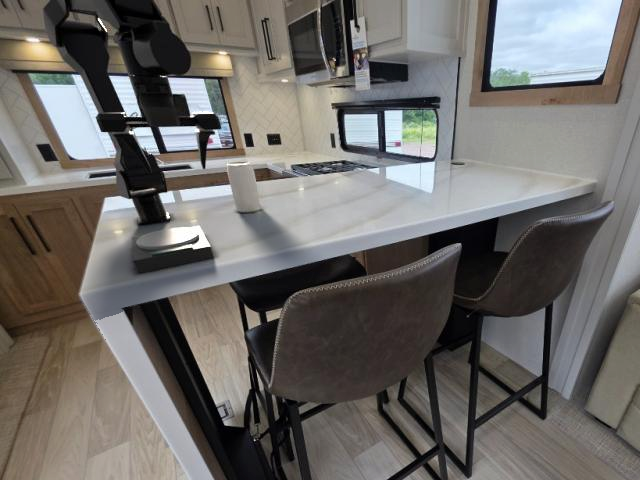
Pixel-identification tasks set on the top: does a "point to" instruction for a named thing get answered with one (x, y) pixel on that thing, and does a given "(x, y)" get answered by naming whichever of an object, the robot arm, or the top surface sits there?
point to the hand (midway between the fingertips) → (178, 170)
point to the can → (244, 187)
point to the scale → (170, 248)
